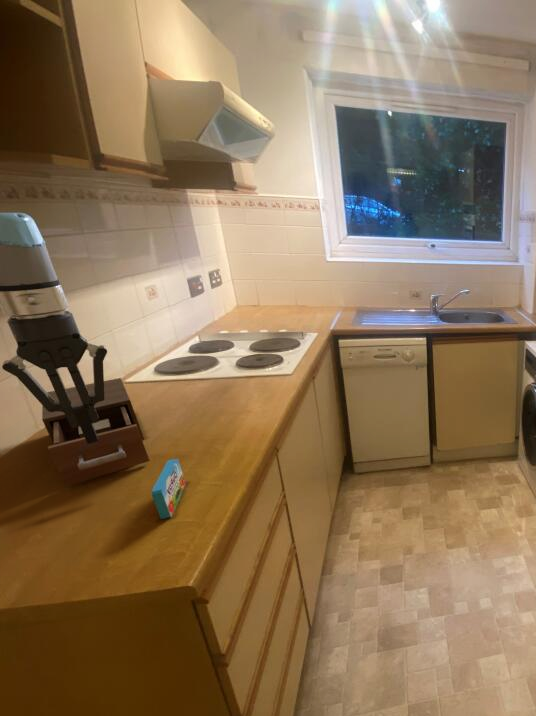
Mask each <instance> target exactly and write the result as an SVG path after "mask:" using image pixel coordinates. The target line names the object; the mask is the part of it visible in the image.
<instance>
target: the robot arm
mask: <svg viewBox="0 0 536 716" xmlns="http://www.w3.org/2000/svg"><path fill="white" fill-rule="evenodd" d="M46 245H47V243H46V241H45V239H44V238H43V236H42V234H41V231H40V230H39V228H38V225H37V223H36V222H35V220H34V218H33V217H31V215H28V214H27V213H24V212H0V309H1V312H2V313H3V315H4V316H7V317H9V318H8V319H7V320H6V323H7V326H8V327H9V330H10V332H11V334H12V335H13V339H14V340H15V342H16V346H17V348H16V351H15V353H16V354H15V355H14V356H13V357H11V358H10V359H7V360H4V361H3V363H2V365H1V368H2V370H4V372H5V371H6V372H7V373H9V374H11V375H13V376H14V377H16V378H17V379H18V381H20V382H21V383H22V384H23V386H24V387H25V388H26V389H27V390H28V391H29V392H30V393H31V394H32V395H33V396H34V398H35V399H36V400H37V401H38V402H39V404H41V405H43V406H44V407H45V408H46V410H47V411H49V412H55V411H61V412H64V413H65V415H66V417H67V419H68V422H69V424H70V426H71V427H72V428H76V427H81V430H82V432H83V434H84V437H85V439H86V441H87V444H90V443H93V442H97V441H98V436H97V434H96V431H95V429H94V427H93V424H92V423H96V422H99V417H98V415H97V412H96V410H95V407H94V405H95V404H96V403H98V402H99V401H103V400H104V398H105V397H104V381H105V379H104V378H105V375H104V360H105V358H106V356H107V354H108V350H107V347H106V346H105V345H102V344H101V345H96V344H92V343H89V342H88V340H87V339H86V338H85V337H83V335H81V333H80V330H79V328H78V327H79V326H78V325H77V323H76V319H75V318H74V317H75V316H74V315H73V313H72V312H70V311H69V310H68V309H69V308H70V304H69V302H68V300H67V297H66V294H65V292H64V290H63V286H62V284H61V283H60V280H59V279H58V276H57V273H56V270H55V268H54V265H53V263H52V260H51V257H50V254H49V251H48V248H47V246H46ZM86 351H88V354H89V357H90V358H92V372H93V375H92V376H93V383H94V394H93V395H91V396H90V395H89V392H88V390H87V387H86V385H87V384H86V383H85V380H84V378H83V376H82V373H81V370H80V368H79V365H78V364H79V363H80V361H81V360H82V358H83V356H84V354H85V353H86ZM24 361H26V362H27V363H30V364H32V365H33V366H35V367H38V368H39V369H40V370H44V371H45V373H46V375H47V377H48V379H49V382H50V383H51V386H52V388H53V391H55V393H56V395H57V397H58V400H59V402H55V401H54V400H53V399H52V398H51V396H50V395H49V394H48V393H47V392H48V391H46V389H44V387H43V386H42V385H41V384H40V383H39V382H38V380H37V379H36V378H35V377H34V376H33V375H32V374H31V373H30V371H29V370H28V369H27V364H26V363H25V362H24ZM61 368H66V369H67V371H68V373H69V375H70V377H71V380H72V383H73V384H74V387H76V389H77V392H78V394H79V396H80V399H81V401H82V404H83V405H80V406H76V407H73V405H72V403H71V400H70V398H69V395H68V393H67V391H66V388H67V387H66V386H65V384H64V382H63V379H62V377H61V375H60V373H59V372H60V371H59V369H61Z"/></svg>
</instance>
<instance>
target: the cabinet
mask: <svg viewBox="0 0 536 716" xmlns="http://www.w3.org/2000/svg"><path fill="white" fill-rule="evenodd" d="M85 385H86V387H87V390H88V392H89V395H90V396H91V395H93V394H94V382H92V383H87V384H85ZM65 388H66V391H67V393H68V395H69V398H70V400H71V403H72V405H73V407H76V406H80V405H83V404H82V401H81V399H80V396H79V394H78V392H77V389H76V387H75V386H71V387H65ZM46 392H47V393H48V394H49V395H50V396H51V398H52V399H53V400H54V401H55V402H59V400H58V397H57V395H56V393H55V390H52V391H46ZM104 397H105V398H104V400H103V401H99V402H98V403H96V404H95V405H94V407H95V410H96V411H99V410H103V409H107V408H112V407H116V406H121V405H124V407H125V409H126V412H127V414H128V417H129V420H130V422H131V425H134V424H136V425H137V427H138V430H139V433H140V436H141V438H142V441H143V440H145V436H144V434H143V432H142V428H141V426H140V423H139V420H138V417H137V415H136V412H135V409H134V406H133V404H132V401H131V398H130V395H129V394H128V391H127V390H126V386H125V384H124V382H123V380H122V378H121V377H119V378H114V379H108V380H104ZM41 405H42V404H41ZM41 408H42V411H41V412H42V413H41V420H42V423H43V425H44V427H45V429H46V431H47V433H48V436H49V438H50V441H51V443H52V445H54V429H53V421H55V420H59V419H63V418H67V417H66V415H65V413H64V412H61V411H55V412H49V411H47V410H46V408H45V407H44V406H43V405H42V407H41Z"/></svg>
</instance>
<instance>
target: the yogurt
mask: <svg viewBox="0 0 536 716" xmlns="http://www.w3.org/2000/svg"><path fill="white" fill-rule="evenodd" d="M186 482H187V481H186V479H185V476H184V472H183V470H182V467H181V464H180V461H179V458H173V459H168V460H167V461H166V463H165V465H164V467H163V469H162V471H161V473H160V475H159V476H158V478H157V481H156V482H155V484H154V486H153V488H152V490H151V497H152V499H153V501H154V504H155V507H156V510H157V512H158V515H159V517H160V520H165V519H169V518H172V517H173V515H174V514H175V510H176V507H177V505H178V503H179V501H180V498H181V495H182V493H183V491H184V489H185V486H186Z"/></svg>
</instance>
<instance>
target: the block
mask: <svg viewBox="0 0 536 716" xmlns="http://www.w3.org/2000/svg"><path fill="white" fill-rule="evenodd" d="M92 424H93V427H94V429H95V431H96V434H99V433H103V432H107V431H111V430H112V427H111V424H110V422H109V419H105V420H101V421H99V422H96V423H92ZM78 430H79V435H80V438H83V437H84V434H83V432H82V430H81V427H78Z"/></svg>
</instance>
